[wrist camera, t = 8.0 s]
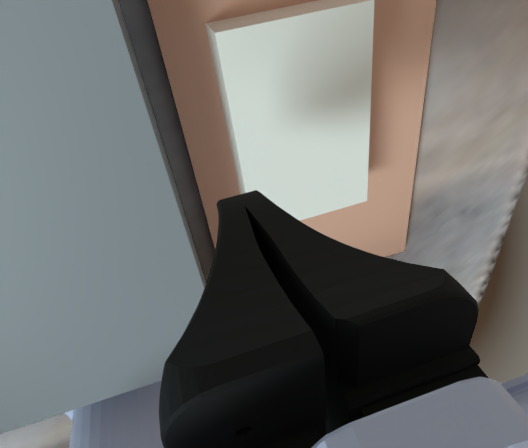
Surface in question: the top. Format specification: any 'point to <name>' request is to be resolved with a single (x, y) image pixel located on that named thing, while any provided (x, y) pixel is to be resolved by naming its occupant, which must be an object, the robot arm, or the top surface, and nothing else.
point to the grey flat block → (83, 215)
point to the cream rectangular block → (298, 102)
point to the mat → (381, 113)
